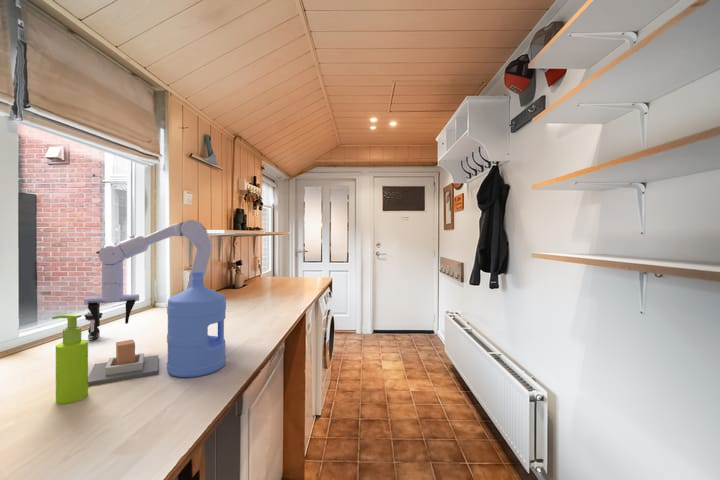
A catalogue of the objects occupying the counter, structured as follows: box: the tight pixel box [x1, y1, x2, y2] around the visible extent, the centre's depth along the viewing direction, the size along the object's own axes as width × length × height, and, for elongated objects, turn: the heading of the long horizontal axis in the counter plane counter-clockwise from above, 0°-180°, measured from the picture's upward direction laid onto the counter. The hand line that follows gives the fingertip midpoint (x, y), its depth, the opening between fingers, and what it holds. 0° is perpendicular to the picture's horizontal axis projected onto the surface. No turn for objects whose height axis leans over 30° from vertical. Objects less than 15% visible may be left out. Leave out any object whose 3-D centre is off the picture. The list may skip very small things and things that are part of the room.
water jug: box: [166, 272, 227, 378], centre depth 100 cm, size 16×16×28 cm
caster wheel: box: [83, 310, 103, 341], centre depth 125 cm, size 7×5×10 cm
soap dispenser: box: [51, 313, 89, 405], centre depth 81 cm, size 6×7×20 cm
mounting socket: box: [88, 353, 159, 387], centre depth 97 cm, size 16×14×3 cm
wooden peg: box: [115, 339, 136, 365], centre depth 98 cm, size 4×4×7 cm
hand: (112, 324), depth 111 cm, fingers open, 7 cm apart
